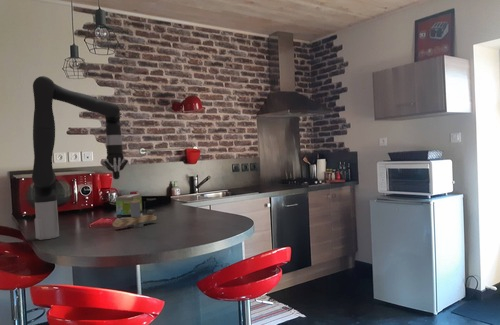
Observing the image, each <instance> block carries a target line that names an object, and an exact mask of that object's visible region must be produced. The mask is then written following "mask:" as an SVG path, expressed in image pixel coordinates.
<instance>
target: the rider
mask: <svg viewBox="0 0 500 325" xmlns="http://www.w3.org/2000/svg"><path fill="white" fill-rule="evenodd" d="M130 206H131V217H133V218H136V217H141V216H140V201H130Z"/></svg>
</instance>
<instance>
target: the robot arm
mask: <svg viewBox="0 0 500 325" xmlns="http://www.w3.org/2000/svg"><path fill="white" fill-rule="evenodd" d="M32 93H33V99H34V100H33V101H34V111H33V123H32V146H33V158H34V159H33V168H32V174H31V179H32V182H33V184H34V210H35V213H34V214H35V218H34V228H35V229H34V230H35V239H36V240H40V241H42V240H49V239H50V240H51V239H55V238H59V237H60V229H59V212H58V200H57V196H58V194H57V179H56V172H54V169H53V153H54V148H55V141H56V122H55V116H54V111H53V100H54V101H59V102H62V103H66V104H70V105H72V106H75V107H76V108H77V107H78V108H80V109H83V110H86V111H88V112H91V113H94V114H95V113H97V114H100V115H103V116H105V117H104V118H105V133H106V134H105V136H106V137H105V138H106V139H105V145H106V157H105V158H106V159H104V160H103V161H101V162H102V164H103V165H104V167H105V168H106V169H107V170H108V171H109V172H112V178H113V179H114V180H119V179H120V177H121V176H120V171H123V170H124V168H125V167H126V165H127V164H128V162H129V160H128V159H126V158H125V157H124V153H123V152H124V150H123V149H124V148H123V137H122V128H121V124H120V122H121V119H120V118H121V116H120V113H121V110H120V107H119V106H118V105H117V104H115V103H112V102H111V101H105V100H102V99H99V98H97V97H94V96H90V95H88V94H85V93H81V92H79V91H78V92H77V91H72V90H69V89H66V88H64V87H62V86H61V85H58V84H56V83H55V82H54V81H53V80H52V79H51V78H50V77H48V76H45V75H43V76H38V77H36V78H35V79H34V81H33V83H32Z"/></svg>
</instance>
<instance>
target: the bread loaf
mask: <svg viewBox="0 0 500 325" xmlns="http://www.w3.org/2000/svg"><path fill="white" fill-rule="evenodd" d="M155 220H157V214H156V209H147V211H146V214H142V215H141V217H136V218H133V217H130V218H124V219H118V220H117V219H115V220H114V221H112V227H115V228H116V227H117V228H118V227H119V228H120V227H124V226H127V227H128V228H132V229H137V228H142V227H144V223H146V222H151V221H155Z"/></svg>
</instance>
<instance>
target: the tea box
mask: <svg viewBox="0 0 500 325" xmlns="http://www.w3.org/2000/svg"><path fill="white" fill-rule="evenodd" d="M142 200H143V198H142V194H139V193H138V194H137V193H135V194H123V195H121V196H116V197H115V207H116V208H115V210H116V220H118V219H124V218H130V217H131V206H130V201H140V216H141V215H143V203H142V202H143V201H142Z"/></svg>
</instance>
